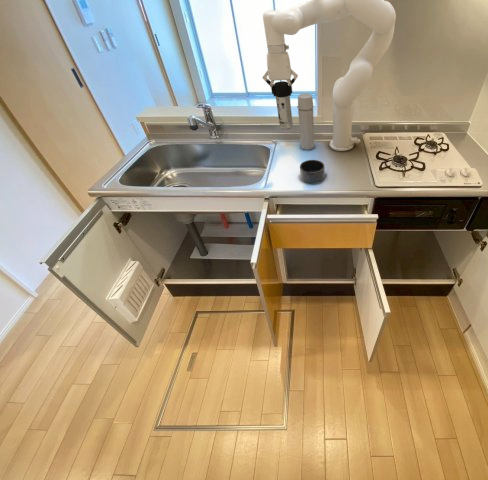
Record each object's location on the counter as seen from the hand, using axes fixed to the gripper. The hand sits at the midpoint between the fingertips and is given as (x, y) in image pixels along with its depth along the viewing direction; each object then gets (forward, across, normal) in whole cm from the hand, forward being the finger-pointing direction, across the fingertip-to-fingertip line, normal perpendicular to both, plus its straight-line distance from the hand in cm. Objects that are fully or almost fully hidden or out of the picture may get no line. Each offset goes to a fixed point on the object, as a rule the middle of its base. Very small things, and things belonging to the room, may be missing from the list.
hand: (282, 94), depth 125 cm
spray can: (+15, 0, 0) cm, 15 cm away
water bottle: (+25, -10, +3) cm, 27 cm away
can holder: (+25, -13, +32) cm, 43 cm away
